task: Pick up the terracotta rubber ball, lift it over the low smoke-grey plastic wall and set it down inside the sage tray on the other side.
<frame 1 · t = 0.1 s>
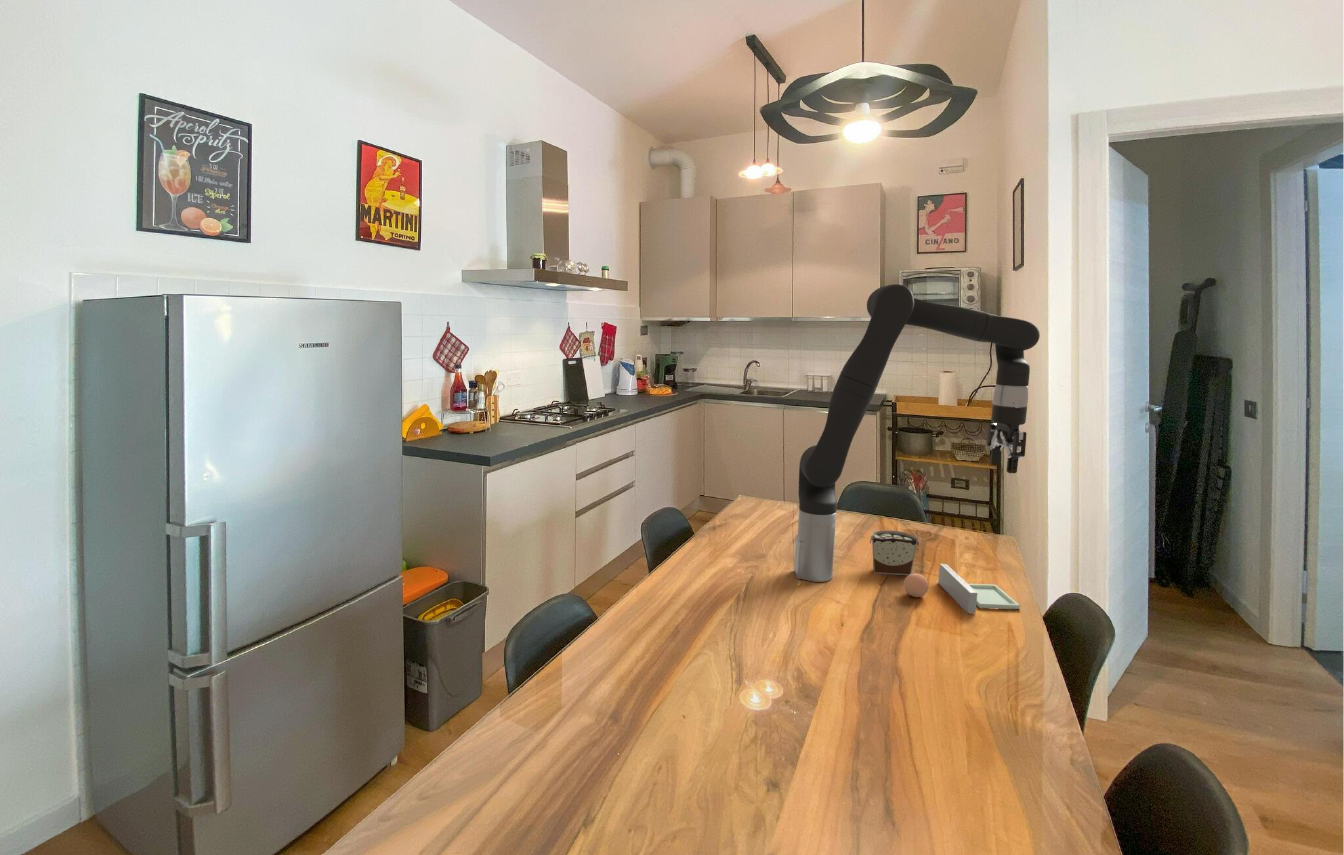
hand: (1003, 469, 161), 29 cm above the table, tool pointing down, fingers open, 8 cm apart
sage tray: (987, 598, 155), on the table
ball: (915, 596, 155), on the table
food container: (889, 570, 172), on the table
low wall: (955, 597, 155), on the table
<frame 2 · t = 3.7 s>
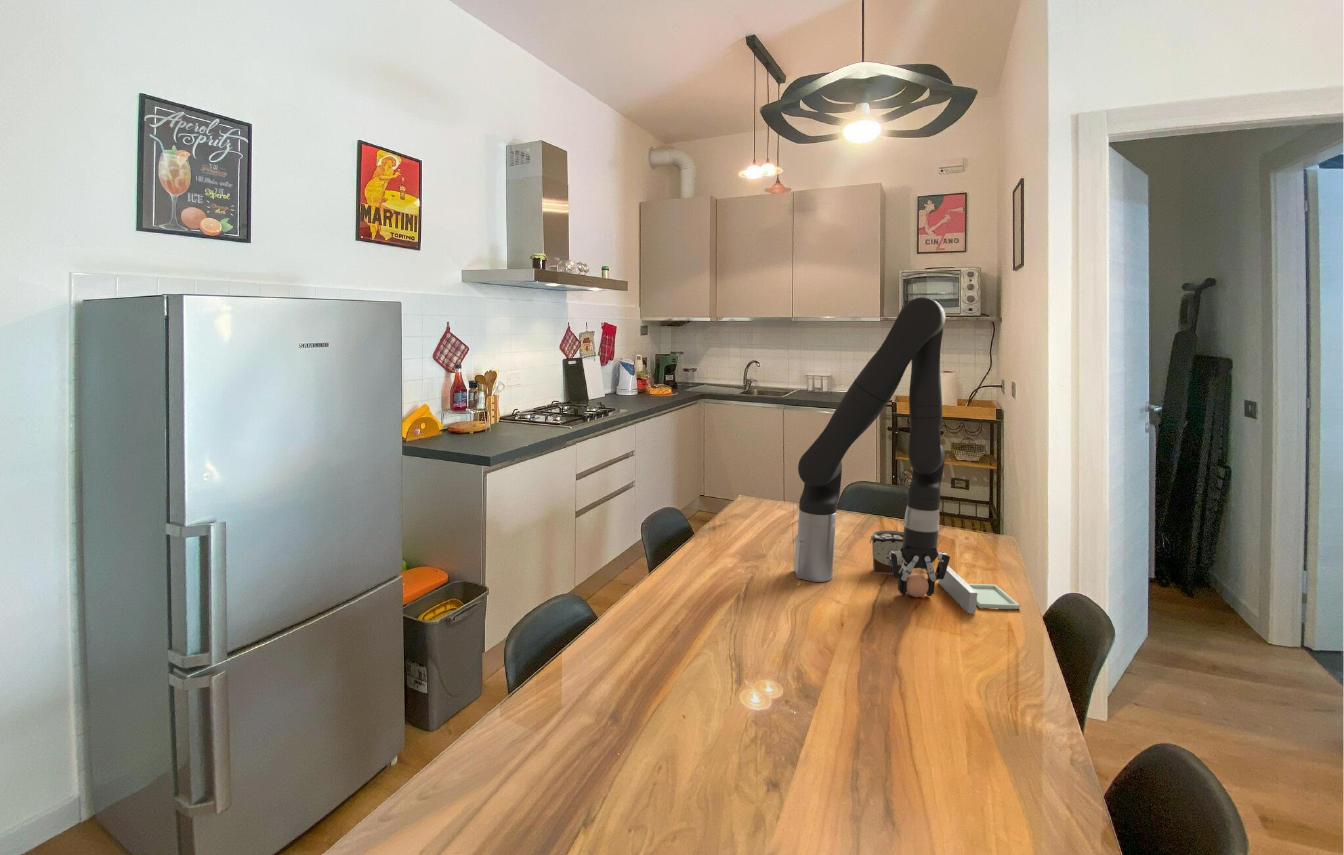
hand: (915, 594, 155), 0 cm above the table, tool pointing down, fingers closed on ball, 5 cm apart
ball: (915, 596, 155), on the table, touching gripper
everything else where it was.
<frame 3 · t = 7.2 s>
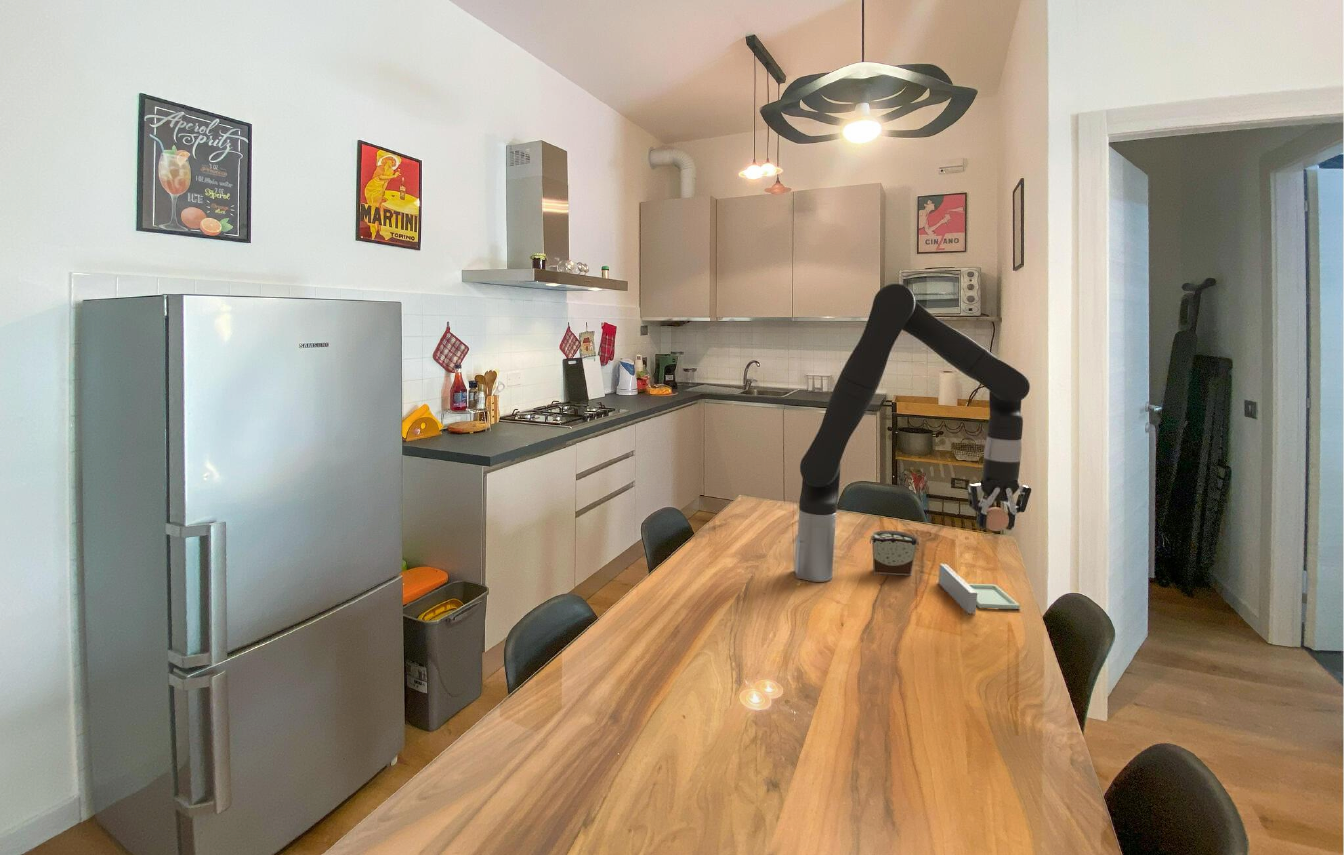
hand: (994, 528, 152), 17 cm above the table, tool pointing down, fingers closed on ball, 5 cm apart
ball: (994, 530, 152), point 17 cm above the table, touching gripper
everything else where it was.
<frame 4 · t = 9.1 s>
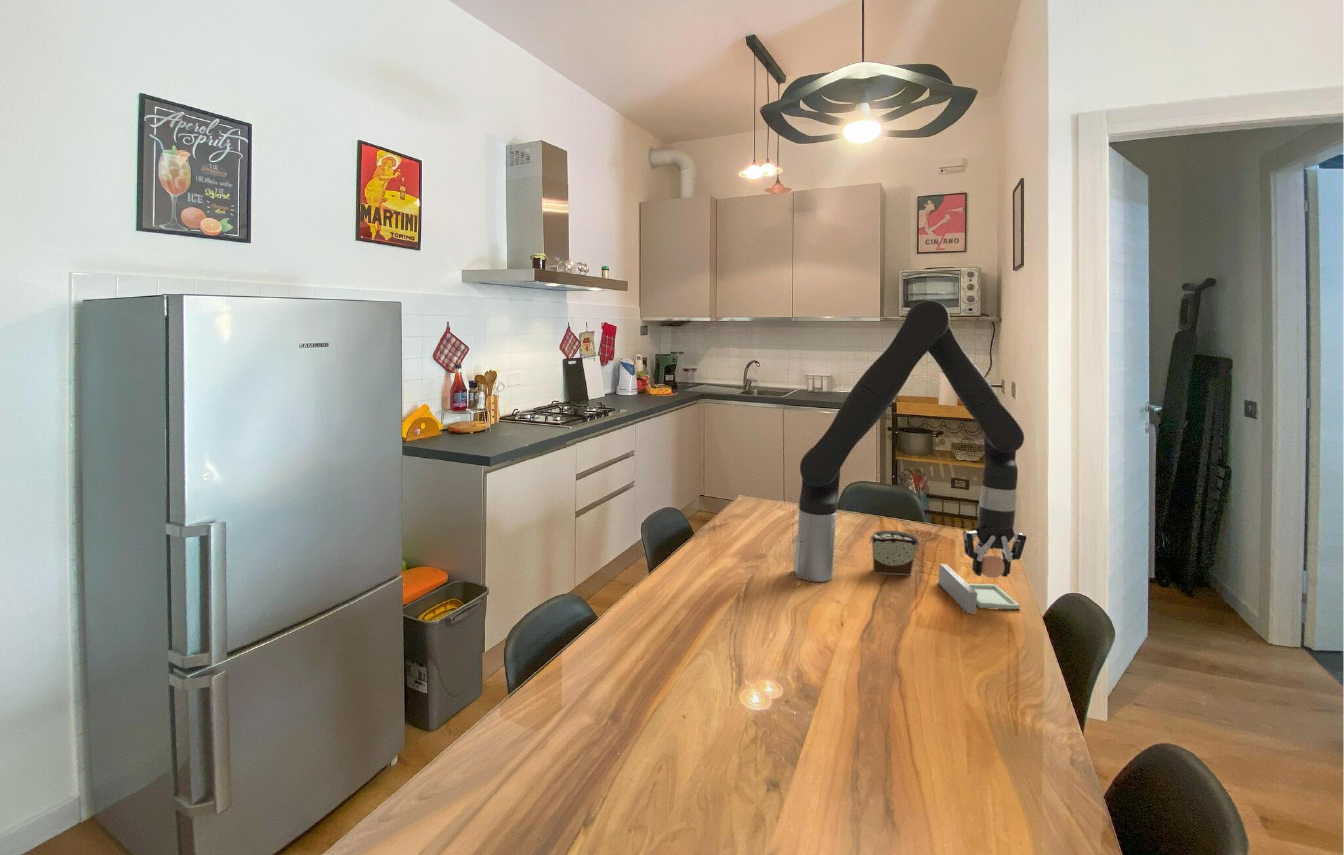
hand: (990, 574, 154), 6 cm above the table, tool pointing down, fingers closed on ball, 5 cm apart
ball: (990, 577, 154), point 5 cm above the table, touching gripper
everything else where it was.
when the fingers open (2 cm above the table, at t = 10.8 s): ball drops 2 cm, resting on sage tray.
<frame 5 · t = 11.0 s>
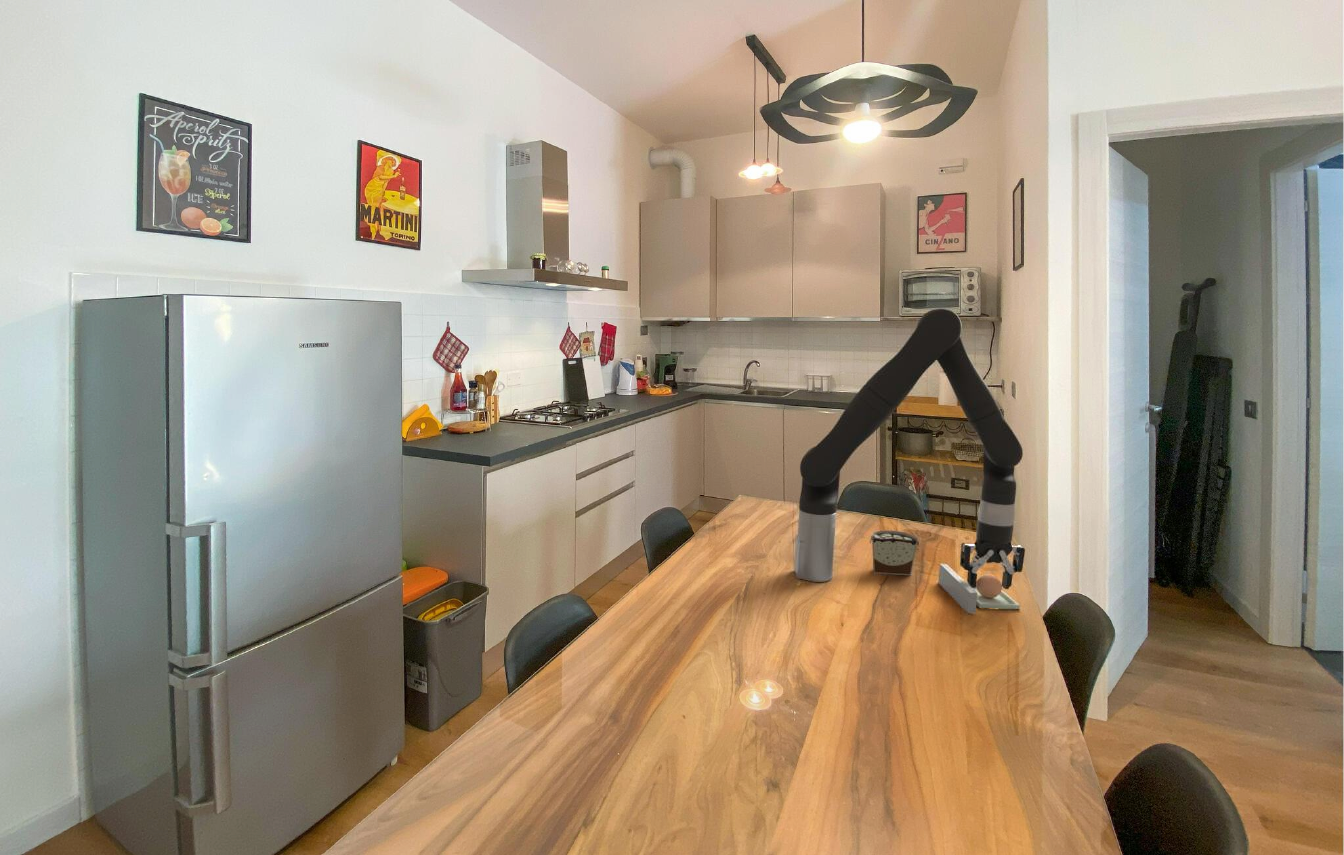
hand: (988, 587, 154), 3 cm above the table, tool pointing down, fingers open, 7 cm apart
ball: (987, 597, 155), resting on sage tray
everything else where it was.
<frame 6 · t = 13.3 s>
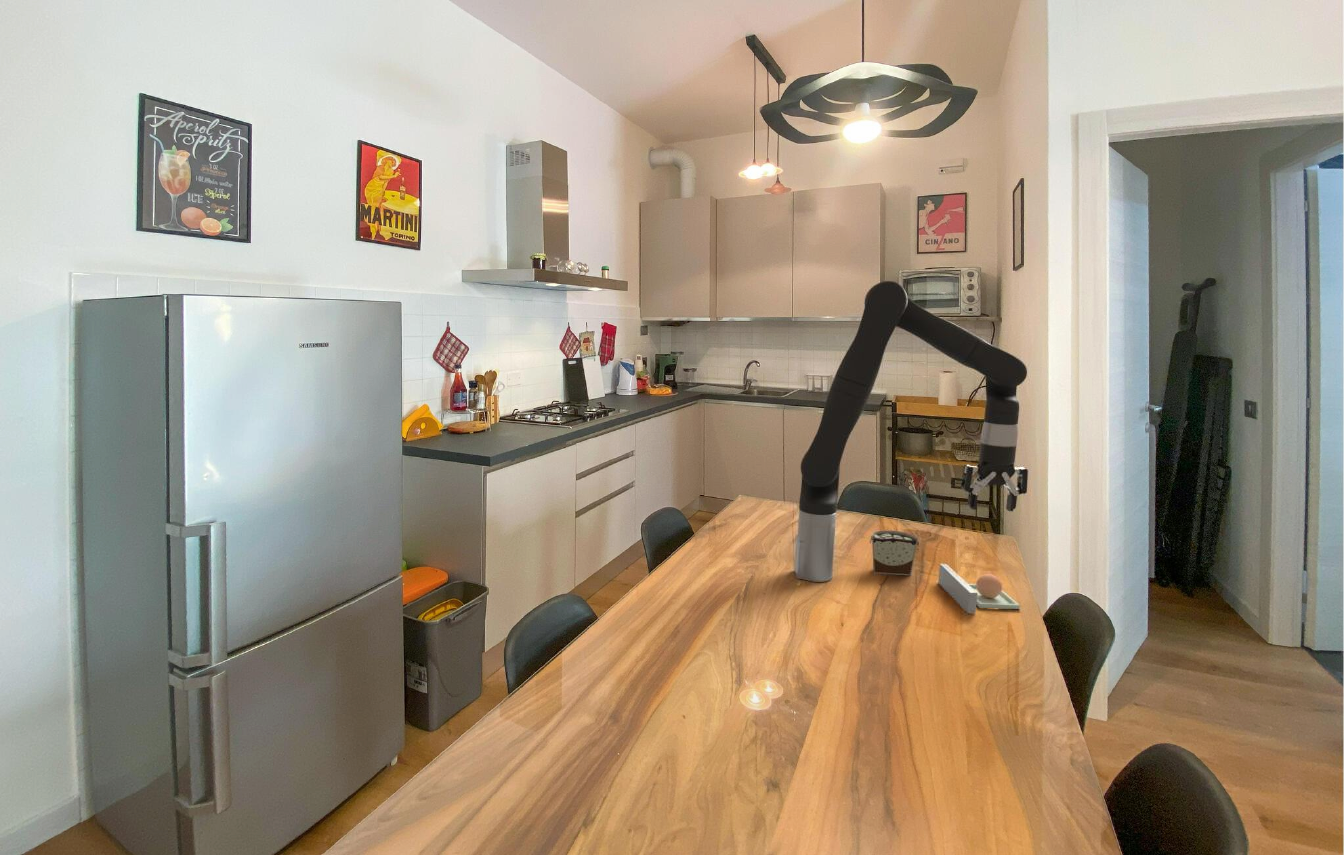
hand: (991, 509, 154), 21 cm above the table, tool pointing down, fingers open, 8 cm apart
nothing on the table moved.
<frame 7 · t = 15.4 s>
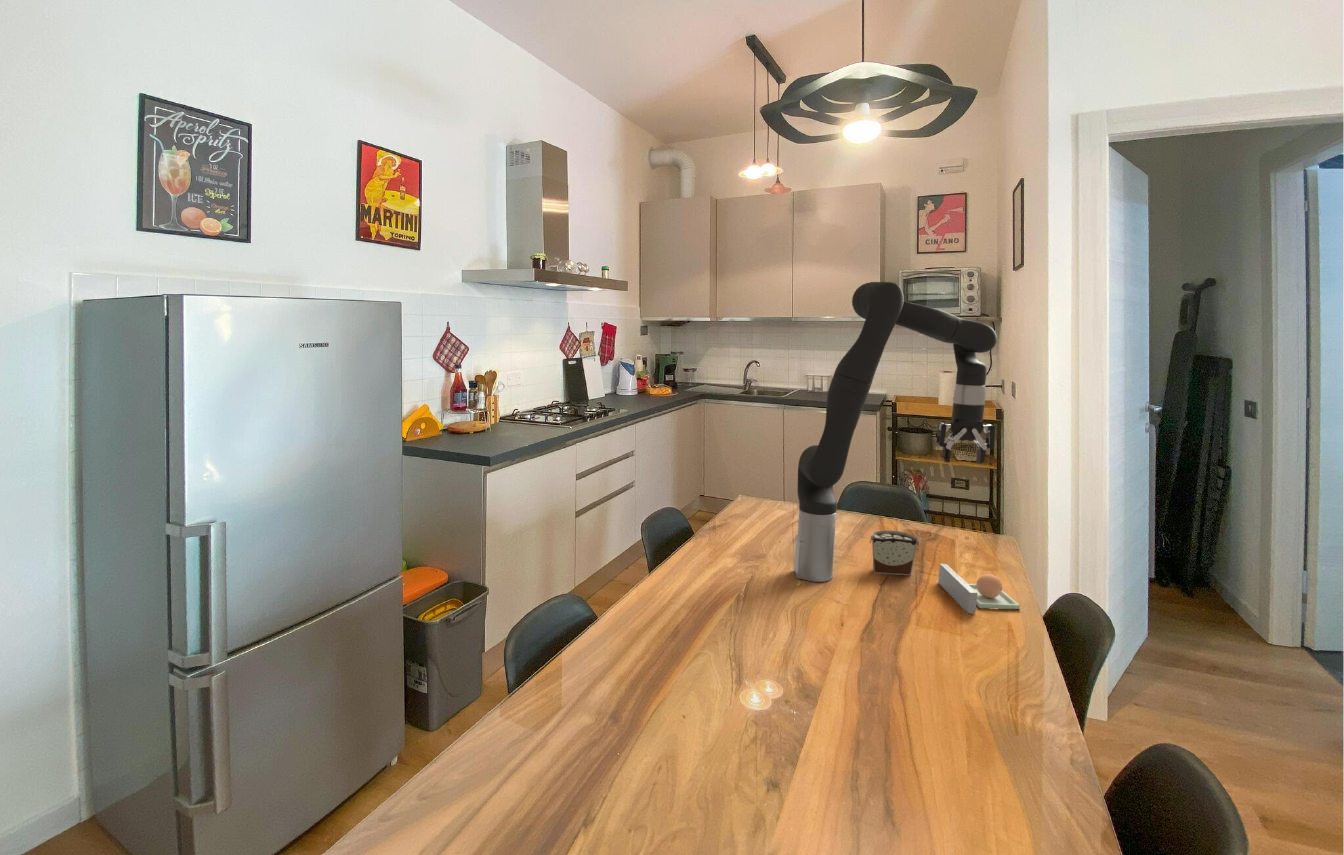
hand: (963, 462, 173), 28 cm above the table, tool pointing down, fingers open, 8 cm apart
nothing on the table moved.
at the end: ball inside the target area (0.1 cm from its centre), resting on sage tray; the gripper is holding nothing; ball moved 17.0 cm from its start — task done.
